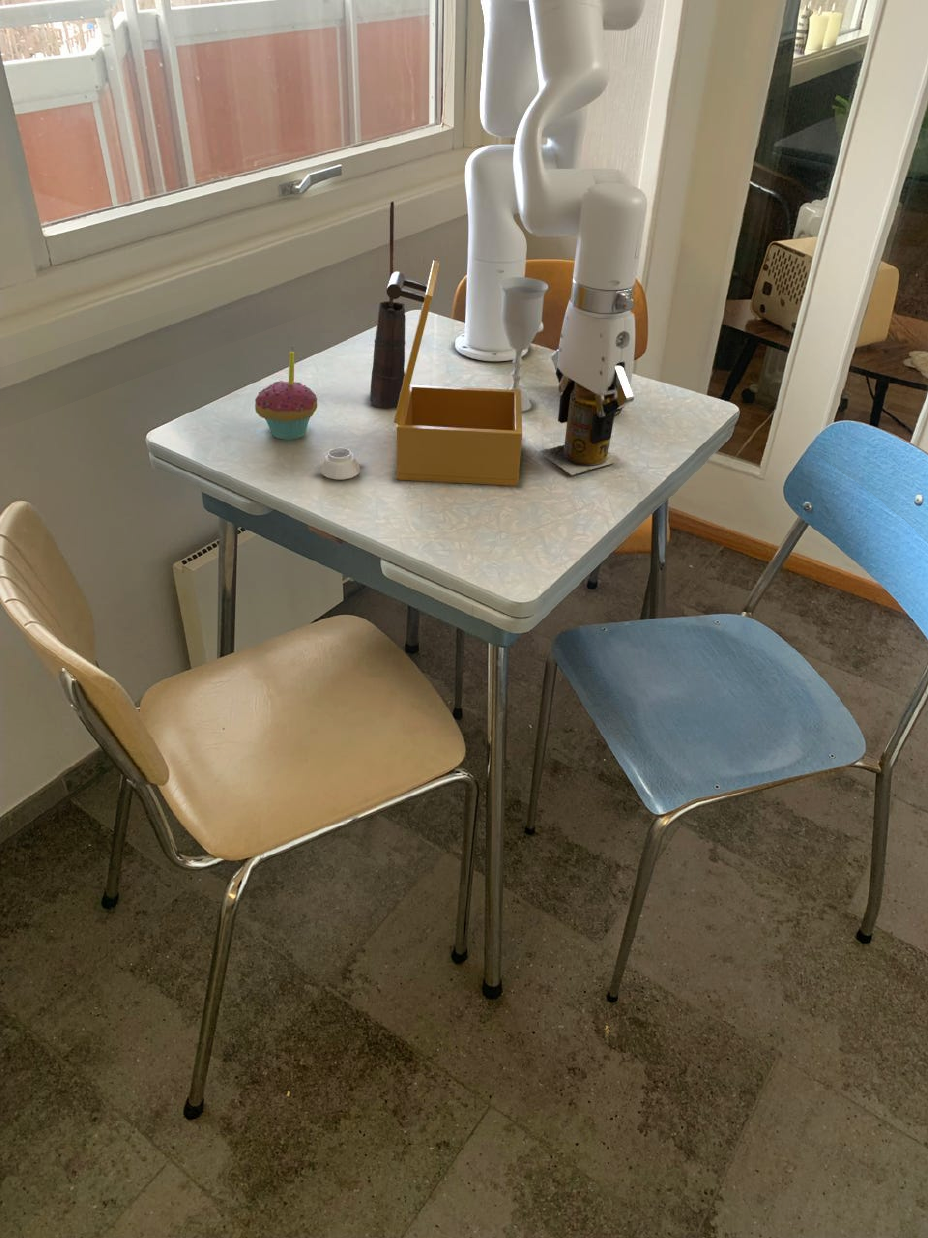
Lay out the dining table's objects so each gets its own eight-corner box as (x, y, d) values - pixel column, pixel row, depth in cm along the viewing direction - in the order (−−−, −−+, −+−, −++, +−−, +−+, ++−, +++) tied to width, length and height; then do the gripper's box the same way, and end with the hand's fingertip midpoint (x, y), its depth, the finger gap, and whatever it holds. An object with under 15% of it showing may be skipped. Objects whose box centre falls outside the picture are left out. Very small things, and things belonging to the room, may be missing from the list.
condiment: (620, 461, 125) (634, 378, 118) (571, 476, 121) (582, 391, 114) (586, 439, 130) (597, 358, 122) (538, 453, 126) (547, 370, 119)
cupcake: (285, 415, 134) (278, 334, 126) (332, 430, 130) (328, 347, 123) (245, 436, 128) (236, 352, 120) (293, 452, 124) (286, 367, 117)
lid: (439, 261, 116) (398, 249, 115) (432, 296, 105) (386, 282, 104) (409, 381, 126) (370, 370, 125) (399, 424, 115) (357, 413, 114)
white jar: (313, 472, 120) (339, 486, 117) (311, 452, 118) (338, 465, 116) (341, 460, 123) (367, 472, 121) (340, 440, 121) (367, 452, 119)
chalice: (545, 411, 138) (557, 290, 127) (503, 417, 136) (512, 294, 125) (524, 392, 144) (534, 275, 133) (484, 397, 141) (491, 278, 131)
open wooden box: (517, 439, 130) (521, 389, 126) (517, 486, 119) (522, 433, 115) (406, 433, 130) (406, 383, 126) (396, 479, 119) (396, 427, 115)
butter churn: (408, 421, 134) (409, 218, 117) (347, 411, 135) (339, 210, 119) (427, 397, 141) (430, 202, 124) (369, 388, 143) (364, 194, 126)
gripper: (673, 313, 108) (647, 451, 119) (581, 271, 119) (566, 400, 130) (624, 323, 105) (603, 464, 116) (535, 279, 116) (523, 411, 127)
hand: (583, 429), depth 123 cm, fingers closed on condiment, 6 cm apart
